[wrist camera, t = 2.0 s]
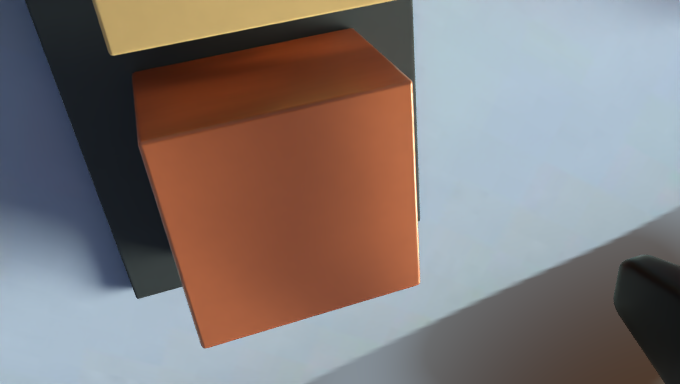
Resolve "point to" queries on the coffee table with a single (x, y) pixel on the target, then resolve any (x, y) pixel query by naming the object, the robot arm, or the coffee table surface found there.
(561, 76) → the coffee table surface
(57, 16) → the long dark base plate
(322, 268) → the terracotta orange cube
